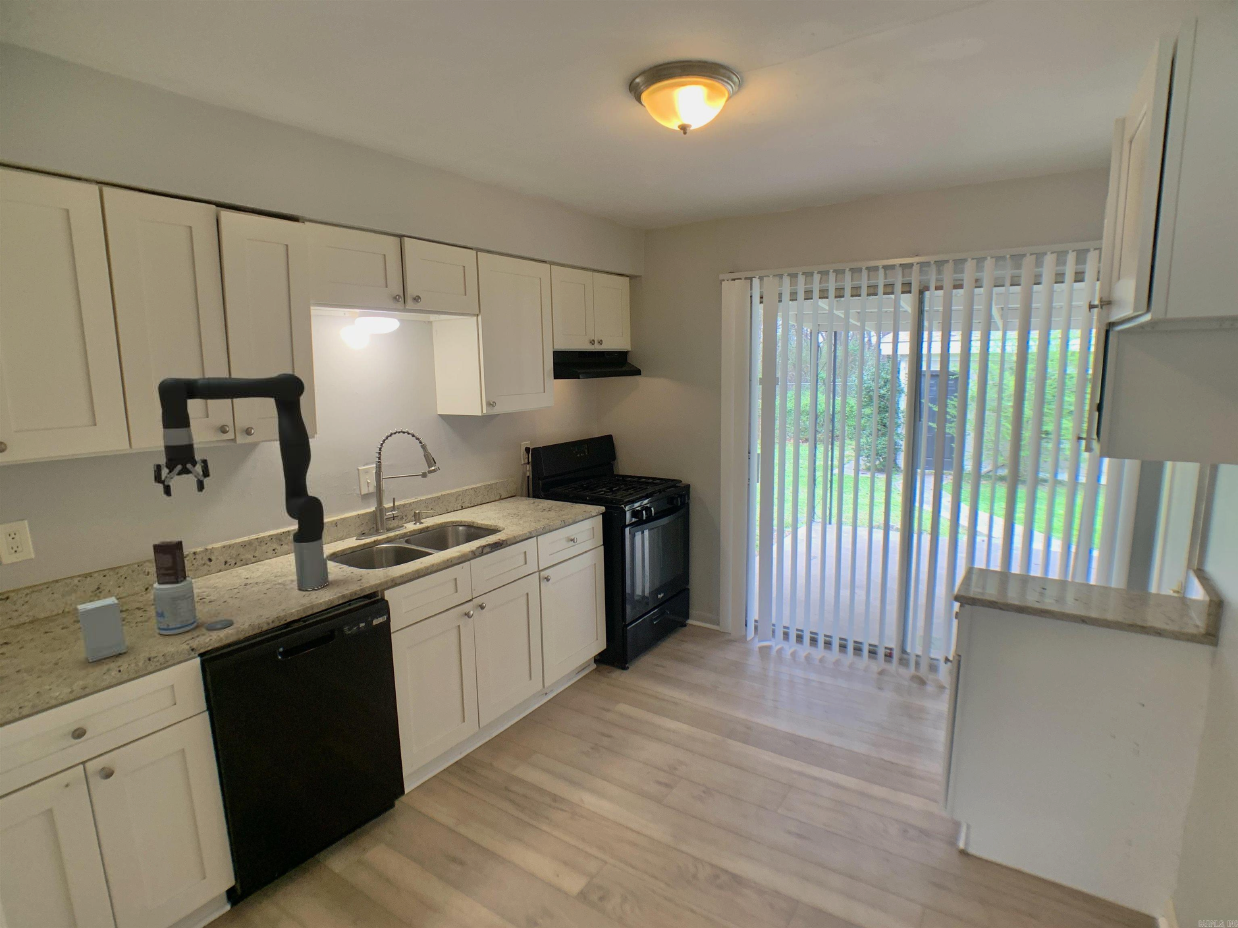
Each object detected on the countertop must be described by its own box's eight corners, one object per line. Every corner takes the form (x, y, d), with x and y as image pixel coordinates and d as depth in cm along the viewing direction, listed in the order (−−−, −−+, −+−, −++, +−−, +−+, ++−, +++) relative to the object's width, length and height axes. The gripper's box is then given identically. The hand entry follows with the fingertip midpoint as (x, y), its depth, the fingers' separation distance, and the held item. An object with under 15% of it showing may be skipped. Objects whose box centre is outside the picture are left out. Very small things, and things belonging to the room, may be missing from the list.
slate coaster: (227, 619, 188) (226, 617, 188) (237, 624, 184) (237, 622, 184) (201, 627, 182) (201, 625, 182) (212, 632, 178) (211, 630, 178)
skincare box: (123, 646, 170) (116, 595, 168) (127, 652, 166) (120, 600, 164) (84, 656, 164) (76, 603, 162) (87, 663, 160) (79, 609, 158)
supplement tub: (150, 632, 179) (144, 584, 177) (184, 620, 187) (179, 574, 185) (170, 638, 175) (164, 589, 173) (204, 625, 184) (199, 578, 181)
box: (187, 578, 182) (183, 539, 180) (178, 583, 177) (173, 543, 175) (166, 579, 181) (161, 540, 179) (156, 584, 177) (151, 544, 175)
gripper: (199, 440, 196) (205, 489, 198) (146, 444, 185) (153, 496, 187) (209, 441, 192) (215, 491, 194) (156, 445, 180) (162, 499, 183)
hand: (184, 494), depth 191 cm, fingers open, 8 cm apart
